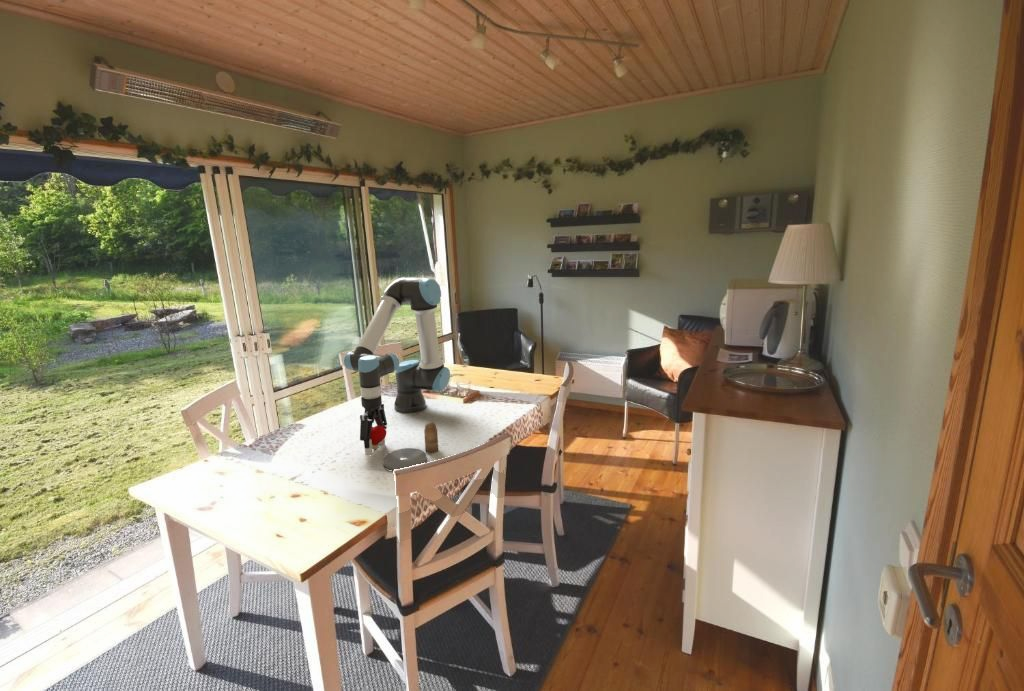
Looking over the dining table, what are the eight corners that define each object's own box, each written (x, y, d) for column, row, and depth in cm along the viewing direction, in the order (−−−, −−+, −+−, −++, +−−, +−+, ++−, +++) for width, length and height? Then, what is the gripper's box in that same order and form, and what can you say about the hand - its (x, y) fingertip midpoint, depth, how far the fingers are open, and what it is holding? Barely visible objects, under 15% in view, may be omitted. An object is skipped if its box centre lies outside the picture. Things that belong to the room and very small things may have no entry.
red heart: (363, 455, 185) (361, 431, 182) (363, 447, 191) (361, 424, 189) (387, 452, 187) (386, 428, 185) (387, 444, 194) (385, 421, 191)
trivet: (396, 449, 189) (395, 446, 189) (433, 454, 185) (433, 450, 185) (374, 469, 174) (374, 465, 174) (414, 474, 170) (414, 470, 170)
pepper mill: (428, 447, 191) (427, 419, 188) (440, 448, 190) (438, 420, 187) (423, 452, 187) (421, 424, 184) (435, 454, 185) (433, 425, 183)
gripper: (377, 386, 195) (381, 437, 200) (346, 404, 175) (351, 460, 180) (393, 387, 193) (397, 439, 198) (364, 406, 173) (369, 463, 178)
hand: (375, 449), depth 189 cm, fingers open, 9 cm apart
